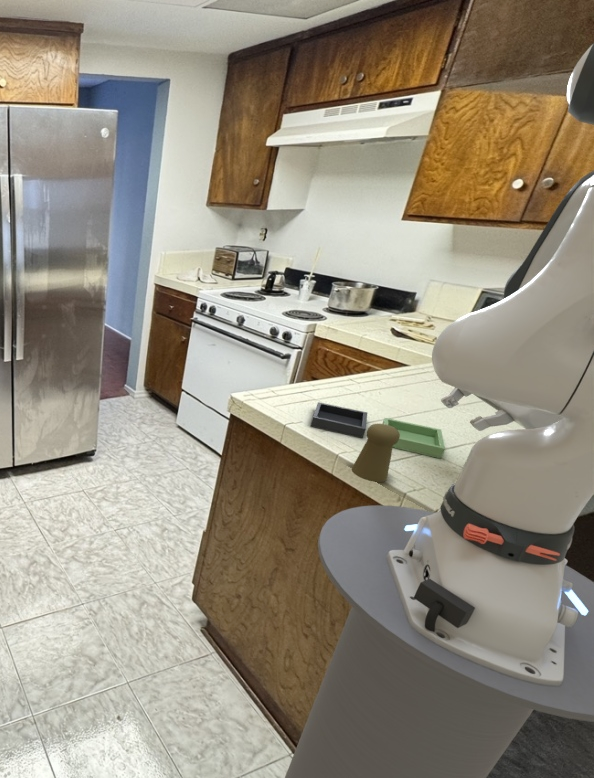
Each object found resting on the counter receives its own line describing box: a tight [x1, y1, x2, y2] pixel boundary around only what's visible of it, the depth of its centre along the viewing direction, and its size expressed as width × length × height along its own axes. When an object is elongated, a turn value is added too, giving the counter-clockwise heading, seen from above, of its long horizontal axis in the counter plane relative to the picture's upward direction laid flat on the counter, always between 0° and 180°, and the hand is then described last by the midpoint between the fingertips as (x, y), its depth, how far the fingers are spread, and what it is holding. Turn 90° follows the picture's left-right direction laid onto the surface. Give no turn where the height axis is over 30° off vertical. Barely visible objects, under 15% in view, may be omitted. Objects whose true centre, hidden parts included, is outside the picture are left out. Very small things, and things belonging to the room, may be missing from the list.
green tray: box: [381, 417, 446, 459], centre depth 108 cm, size 11×11×2 cm
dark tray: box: [310, 402, 368, 439], centre depth 116 cm, size 11×11×2 cm
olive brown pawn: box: [351, 423, 400, 483], centre depth 94 cm, size 6×6×11 cm
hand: (458, 414), depth 88 cm, fingers open, 8 cm apart
